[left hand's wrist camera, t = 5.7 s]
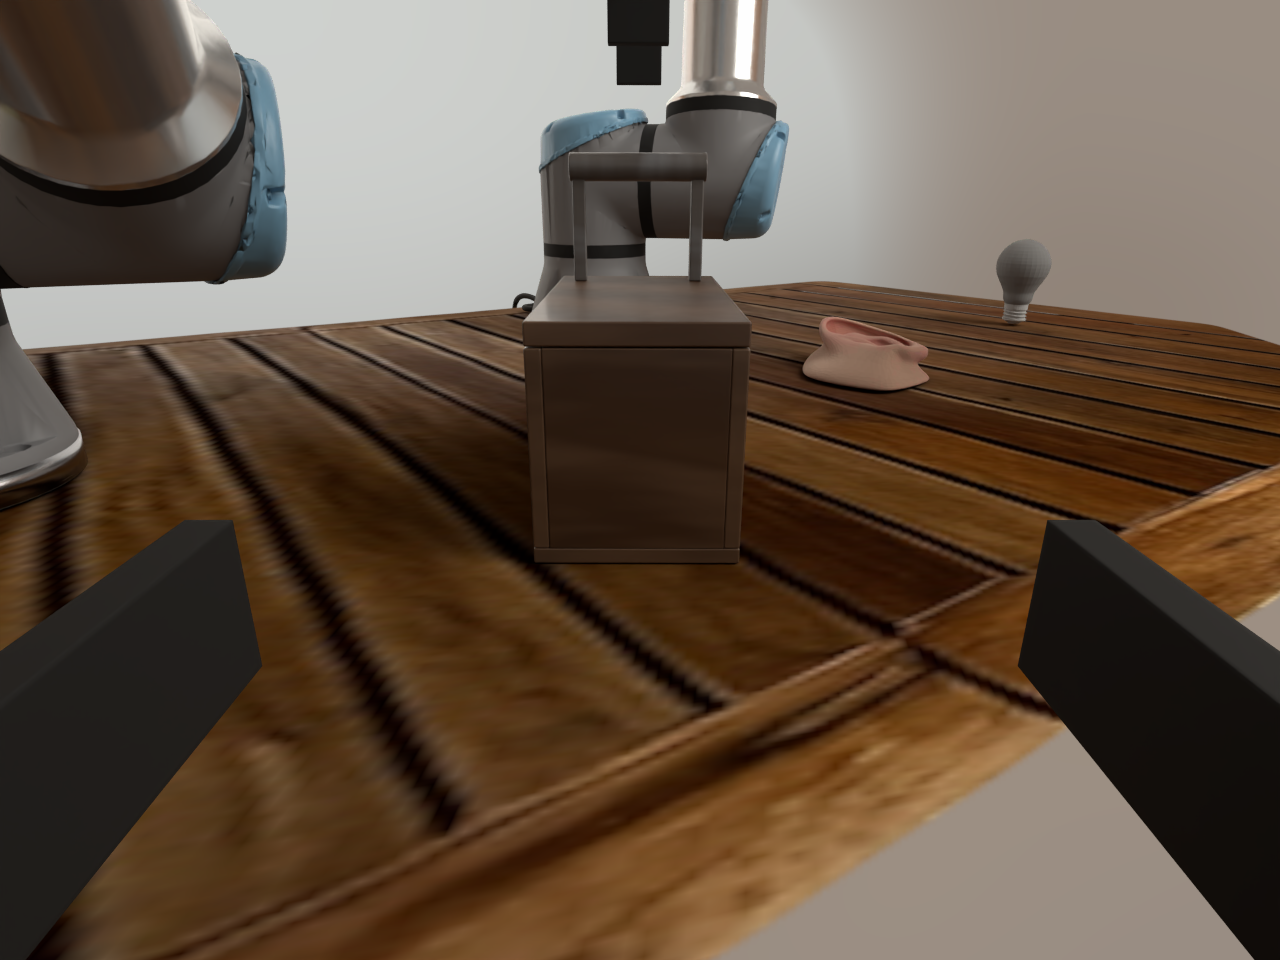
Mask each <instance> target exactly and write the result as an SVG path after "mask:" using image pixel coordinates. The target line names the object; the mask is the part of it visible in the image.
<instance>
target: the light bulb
mask: <svg viewBox="0 0 1280 960" xmlns="http://www.w3.org/2000/svg"><path fill="white" fill-rule="evenodd" d="M1050 268H1051V257H1050V254H1049V252H1048V250H1047V249H1046V247H1045V246H1044V245H1043V244H1041V243H1039V242H1037V241H1034V240H1029V239H1026V240H1020V241H1017V242H1014V243H1012V244H1011V245H1009V246H1008V247H1007V248H1006V249H1005V250H1004V251H1003V252H1002V253H1001V255H1000V256H999V258H998V261H997V266H996V270H997V275H998V278H999V281H1000V283H1001V285H1002V288H1003V299H1004V302H1005V306H1004V308H1006V309H1004V311H1005V312H1004V313H1003V314H1005V315H1004V316H1003V318H1002V319H1004V320H1005V321H1007V322H1008V323H1012V324H1018V323H1020V322H1022V321H1025V320H1026V318H1024V317H1026V316H1025V313H1026V310H1027V309H1028V305H1029V303H1030V302H1031V300H1032V298H1033V295H1034V292H1035V291H1036V290H1037V288H1038V287H1039V286H1040V284H1041V283H1042V282H1043V281H1044V279H1045V278H1046V277H1047V275H1048V273H1049V271H1050Z"/></svg>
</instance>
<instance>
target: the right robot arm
mask: <svg viewBox="0 0 1280 960" xmlns="http://www.w3.org/2000/svg"><path fill="white" fill-rule="evenodd" d="M607 9H608V46H617V85H661V47H662V46H668V45H669V0H607ZM767 14H768V0H684V30H683V58H682V86H681V88H680V90H679V91H678V92H677V93H676V94H675V95H674V96H673V97H672V98H671V99H670V100H669V101H668V102H667V107H666V122H665V124H647V123H648V119H647V117H646V114H645V112H644V111H642V110H639V109H620V110H605V111H598V112H590V113H584V114H579V115H574V116H569V117H565V118H562V119H559V120H556V121H554V122H552V123H550V124H549V125H548V126H546V128H545V129H544V130H543V132H542V135H541V164H540V166H539V173H540V174H541V195H542V217H543V238H544V267H543V271H542V275H541V279H540V282H539V286H538V290H537V294H536V296H533V295H531V294H526V293H522V294H519V295H518V296H517V297H516V298H515V299H514V302H513V306H512V308H517V305H518V302H519V300H520V299H523V298H527V299H531V300H533V301H534V303H532V304H525V305H523V306H522V309H523V310H524V311H530V312H532V311H533V310H534V309H535V308H536V307H537V305H538V304H539V303H540V302H541V301H542V300H543V299H544V298H545V297H546V296H547V294H548V293H549V292H550V291H551V290H552V289H553V288H554V287H555V286H556V284H557V283H558V282H559V281H560V280H561V279H562V278H563V277H564V276H575V271H574V234H573V196H572V181H570V179H569V170H568V156H569V153H570V152H618V153H707V155H708V173H707V180H706V181H705V182H704V200H703V233H702V239H723V240H724V241H728V240H730V239H746V238H757V237H760V236H762V235H763V234H765V233H766V232H767V230H768V229H769V228H770V225H771V223H772V219H773V215H774V211H775V206H776V201H777V196H778V191H779V186H780V181H781V176H782V170H783V165H784V159H785V152H786V146H787V141H788V134H789V126H788V124H786V123H783V122H782V121H776V109H777V104H776V102H775V101H774V100H773V99H772V97H771V96H770V95H769V94H768V93H767V92H766V91H765V89H764V86H763V83H764V67H765V49H766V32H767ZM585 185H586V232H587V276H649V274H648V270H647V267H646V261H645V241H646V238H686V239H689V235H690V194H691V182H642V181H585Z"/></svg>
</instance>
